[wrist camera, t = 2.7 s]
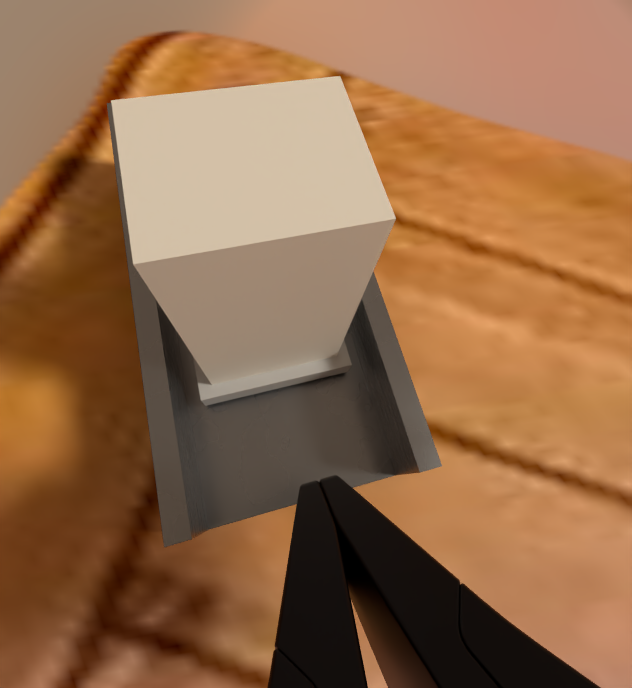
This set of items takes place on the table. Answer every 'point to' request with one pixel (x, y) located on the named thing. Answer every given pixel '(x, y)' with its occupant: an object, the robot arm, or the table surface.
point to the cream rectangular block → (253, 226)
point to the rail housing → (271, 419)
